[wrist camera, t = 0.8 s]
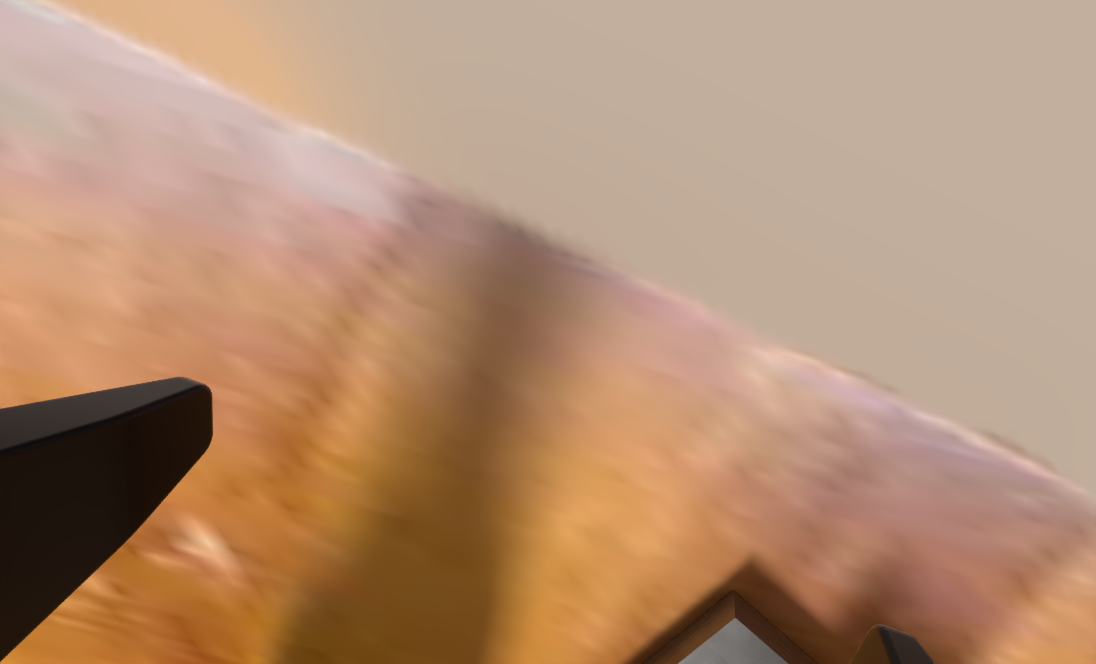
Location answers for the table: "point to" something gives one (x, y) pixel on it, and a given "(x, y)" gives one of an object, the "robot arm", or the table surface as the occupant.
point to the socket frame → (731, 639)
